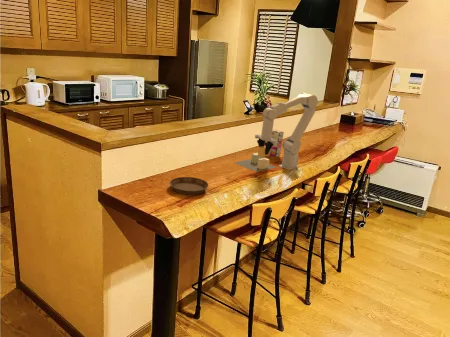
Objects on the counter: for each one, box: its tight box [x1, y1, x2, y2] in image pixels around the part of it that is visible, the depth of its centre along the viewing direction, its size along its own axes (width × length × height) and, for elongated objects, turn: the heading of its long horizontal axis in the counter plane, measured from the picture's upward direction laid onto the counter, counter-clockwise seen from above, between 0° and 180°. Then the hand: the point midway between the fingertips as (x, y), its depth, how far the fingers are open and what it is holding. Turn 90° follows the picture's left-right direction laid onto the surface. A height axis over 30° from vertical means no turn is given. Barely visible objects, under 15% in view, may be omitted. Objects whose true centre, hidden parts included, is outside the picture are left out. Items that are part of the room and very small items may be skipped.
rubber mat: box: [233, 159, 277, 173], centre depth 215 cm, size 18×18×1 cm
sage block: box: [251, 152, 264, 164], centre depth 220 cm, size 6×4×5 cm, turn 135°
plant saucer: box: [169, 176, 209, 196], centre depth 170 cm, size 18×18×3 cm
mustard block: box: [257, 146, 270, 158], centre depth 209 cm, size 6×4×5 cm, turn 134°
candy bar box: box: [264, 129, 284, 158], centre depth 239 cm, size 11×5×16 cm, turn 47°
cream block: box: [257, 157, 270, 169], centre depth 211 cm, size 6×4×5 cm, turn 135°
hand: (263, 153), depth 209 cm, fingers closed on mustard block, 3 cm apart
